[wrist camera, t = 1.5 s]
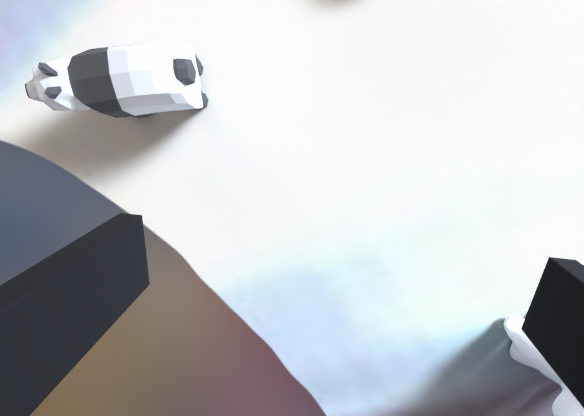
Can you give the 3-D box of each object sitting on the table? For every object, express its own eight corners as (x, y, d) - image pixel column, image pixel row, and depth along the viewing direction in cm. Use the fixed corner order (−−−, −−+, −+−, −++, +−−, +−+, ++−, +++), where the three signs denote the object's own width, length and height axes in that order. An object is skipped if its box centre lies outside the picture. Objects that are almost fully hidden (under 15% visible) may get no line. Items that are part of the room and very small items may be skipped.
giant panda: (211, 53, 32) (172, 20, 23) (220, 110, 34) (185, 101, 24) (74, 71, 33) (-17, 47, 24) (87, 126, 35) (5, 123, 25)
